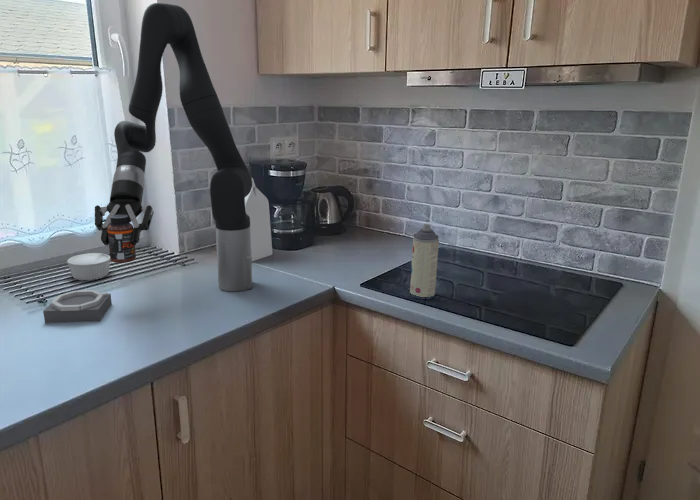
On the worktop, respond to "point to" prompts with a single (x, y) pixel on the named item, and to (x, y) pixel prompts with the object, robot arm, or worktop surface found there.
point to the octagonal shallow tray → (78, 307)
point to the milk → (259, 223)
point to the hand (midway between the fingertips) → (119, 243)
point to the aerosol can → (424, 262)
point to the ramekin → (89, 266)
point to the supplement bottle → (120, 239)
